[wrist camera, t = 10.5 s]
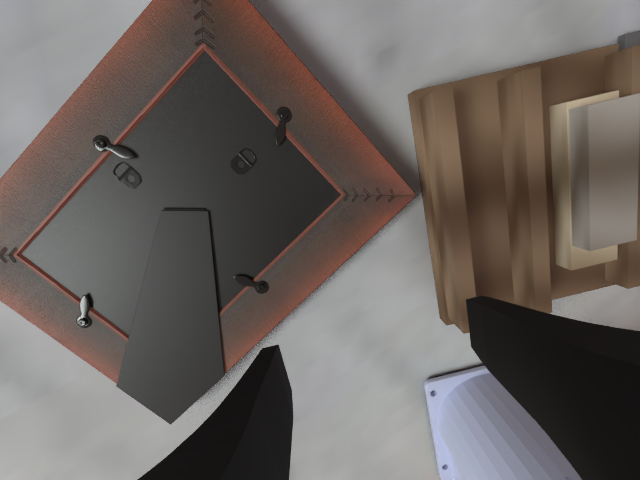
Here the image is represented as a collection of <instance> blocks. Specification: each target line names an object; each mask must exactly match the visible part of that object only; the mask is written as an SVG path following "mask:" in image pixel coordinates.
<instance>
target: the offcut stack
mask: <svg viewBox="0 0 640 480" xmlns="http://www.w3.org/2000/svg"><path fill="white" fill-rule="evenodd" d="M549 110H550V134H551V158H552V182H553V206H554V230H555V254H556V265H558V266H561V267H564V268H566V269H569V270H576V269H580V268H584V267H588V266H592V265H596V264H600V263H605V262H609V261H613V260H617V254H618V244H622V243H626V242H631V241H635V240H637V211H638V171H639V131H640V93H639V94H634V95H629V96H625V97H620V98H619V90H617V91H612V92H608V93H604V94H600V95H595V96H591V97H587V98H583V99H578V100H574V101H570V102H565V103H561V104H557V105H553V106H549Z"/></svg>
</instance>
